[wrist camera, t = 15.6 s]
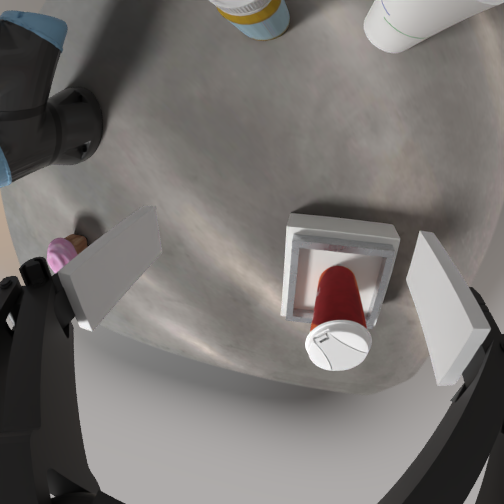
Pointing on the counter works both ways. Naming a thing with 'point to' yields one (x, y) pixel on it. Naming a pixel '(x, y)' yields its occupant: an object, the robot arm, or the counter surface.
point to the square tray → (336, 261)
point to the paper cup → (338, 322)
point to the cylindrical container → (416, 20)
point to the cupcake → (64, 250)
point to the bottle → (256, 17)
